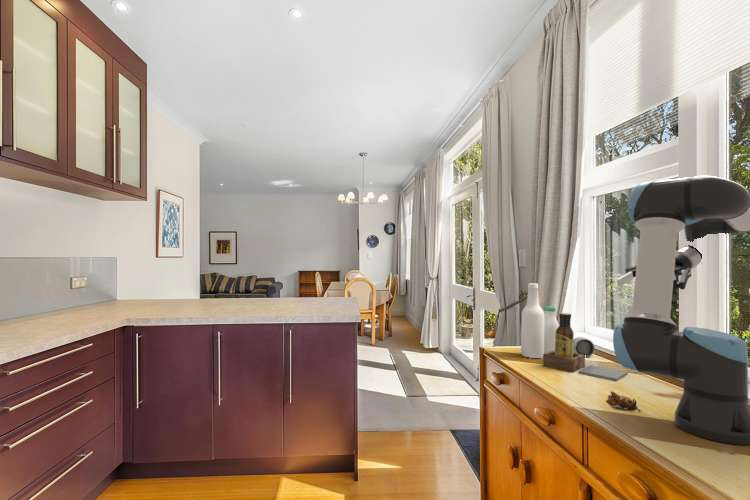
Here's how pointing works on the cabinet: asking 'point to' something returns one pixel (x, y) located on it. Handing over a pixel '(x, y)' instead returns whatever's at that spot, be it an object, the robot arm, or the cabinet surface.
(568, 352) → the sauce bottle
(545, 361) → the walnut collar
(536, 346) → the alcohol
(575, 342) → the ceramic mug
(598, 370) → the slate tile
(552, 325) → the milk bottle
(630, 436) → the cabinet surface
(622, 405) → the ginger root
